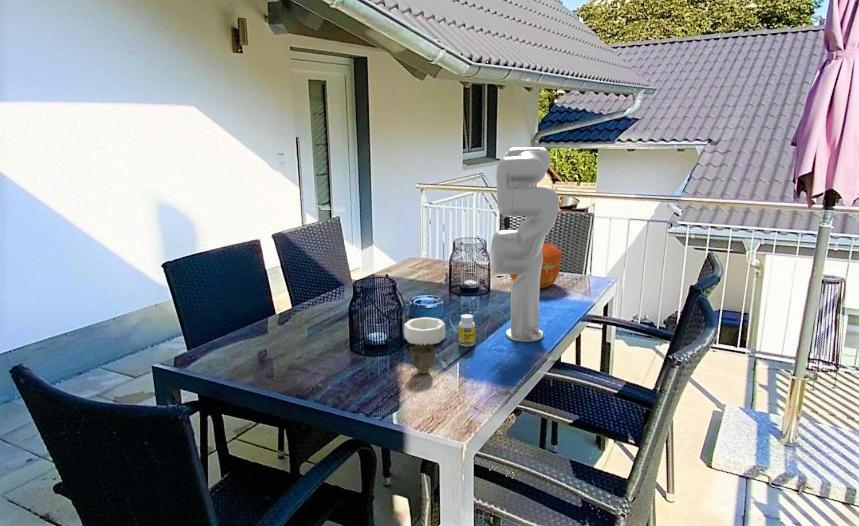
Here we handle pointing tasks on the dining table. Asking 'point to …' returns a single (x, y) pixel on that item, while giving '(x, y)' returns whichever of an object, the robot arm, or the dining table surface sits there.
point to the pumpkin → (548, 265)
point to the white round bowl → (424, 330)
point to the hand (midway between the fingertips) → (519, 229)
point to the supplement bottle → (466, 330)
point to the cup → (422, 357)
